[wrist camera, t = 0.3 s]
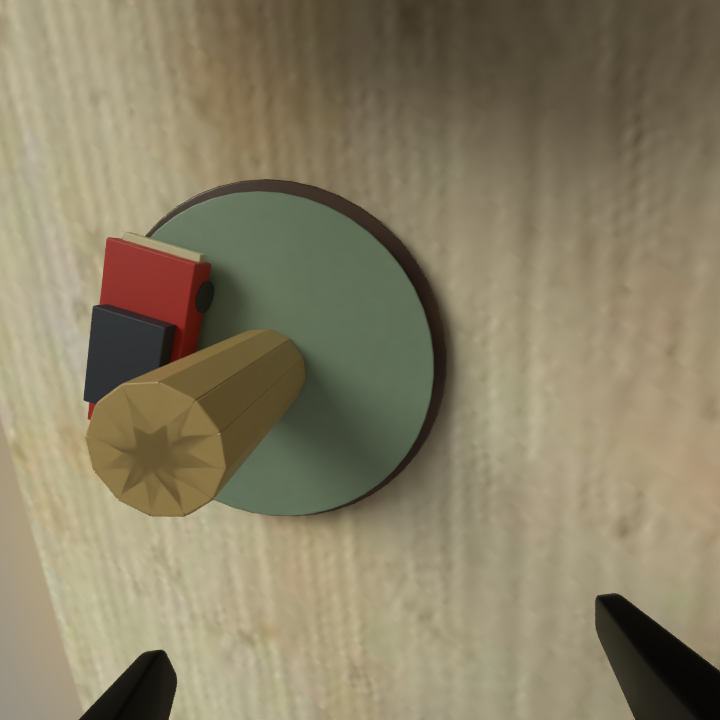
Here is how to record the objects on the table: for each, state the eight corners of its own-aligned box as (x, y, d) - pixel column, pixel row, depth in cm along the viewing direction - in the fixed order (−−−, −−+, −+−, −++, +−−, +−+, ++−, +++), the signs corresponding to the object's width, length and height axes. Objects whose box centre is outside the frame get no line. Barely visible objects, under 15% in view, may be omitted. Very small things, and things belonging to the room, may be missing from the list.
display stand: (454, 504, 23) (456, 512, 22) (160, 512, 25) (152, 520, 25) (433, 156, 19) (434, 152, 18) (84, 207, 21) (72, 205, 20)
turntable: (482, 250, 18) (564, 236, 9) (378, 546, 23) (358, 750, 13) (139, 151, 19) (-127, 40, 10) (103, 457, 24) (-106, 590, 14)
